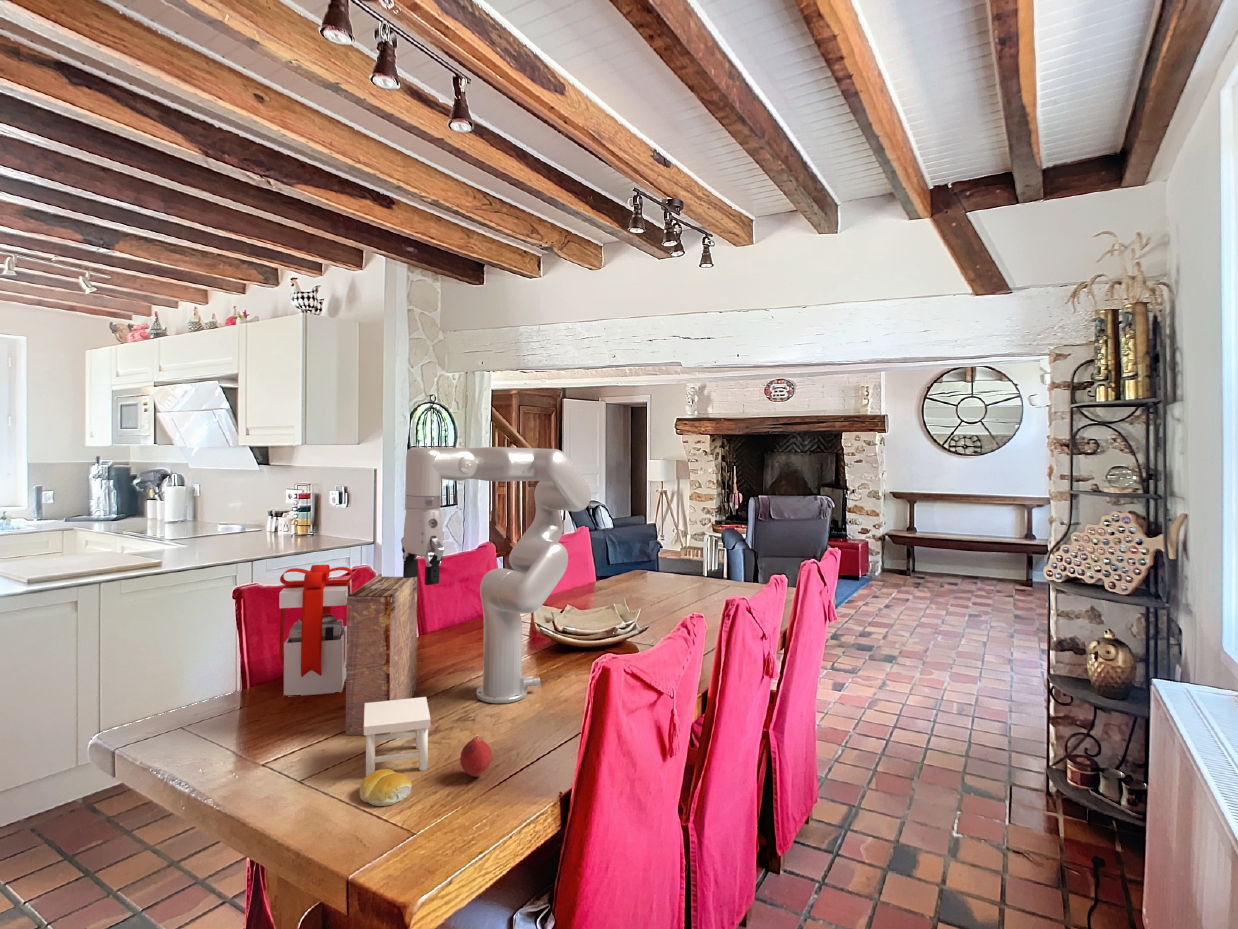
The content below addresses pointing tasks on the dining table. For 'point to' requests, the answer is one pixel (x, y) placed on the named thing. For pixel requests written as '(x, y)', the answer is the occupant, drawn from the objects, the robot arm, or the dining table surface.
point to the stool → (397, 728)
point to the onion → (475, 756)
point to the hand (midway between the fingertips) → (420, 580)
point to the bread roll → (385, 787)
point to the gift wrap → (314, 632)
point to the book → (380, 646)
